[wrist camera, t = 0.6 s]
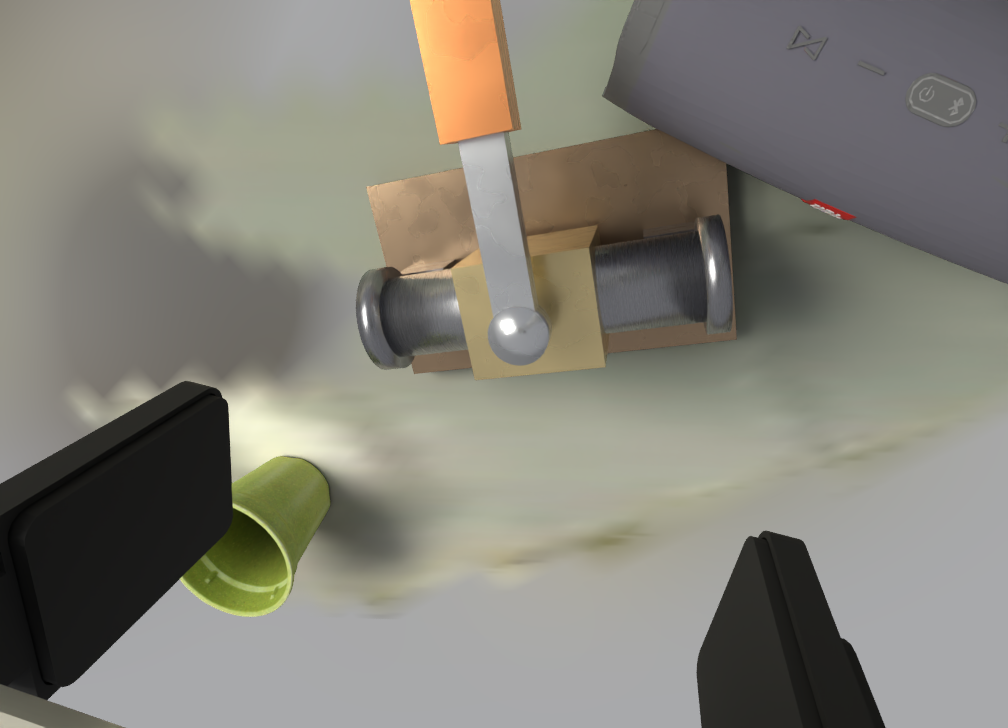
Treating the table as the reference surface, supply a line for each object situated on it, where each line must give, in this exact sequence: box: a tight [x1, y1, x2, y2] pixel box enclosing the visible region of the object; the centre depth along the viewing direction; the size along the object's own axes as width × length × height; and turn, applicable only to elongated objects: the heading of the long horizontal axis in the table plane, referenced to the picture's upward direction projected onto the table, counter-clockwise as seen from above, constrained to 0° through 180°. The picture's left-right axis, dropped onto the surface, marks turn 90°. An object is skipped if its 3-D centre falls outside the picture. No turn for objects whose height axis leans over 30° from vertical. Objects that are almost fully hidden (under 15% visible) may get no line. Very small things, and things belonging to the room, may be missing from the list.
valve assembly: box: [356, 129, 737, 380], centre depth 31 cm, size 20×12×11 cm, turn 101°
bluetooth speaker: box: [602, 0, 1008, 284], centre depth 25 cm, size 23×9×10 cm, turn 68°
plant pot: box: [180, 456, 331, 617], centre depth 42 cm, size 9×9×9 cm
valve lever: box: [410, 0, 552, 366], centre depth 23 cm, size 14×3×2 cm, turn 11°
